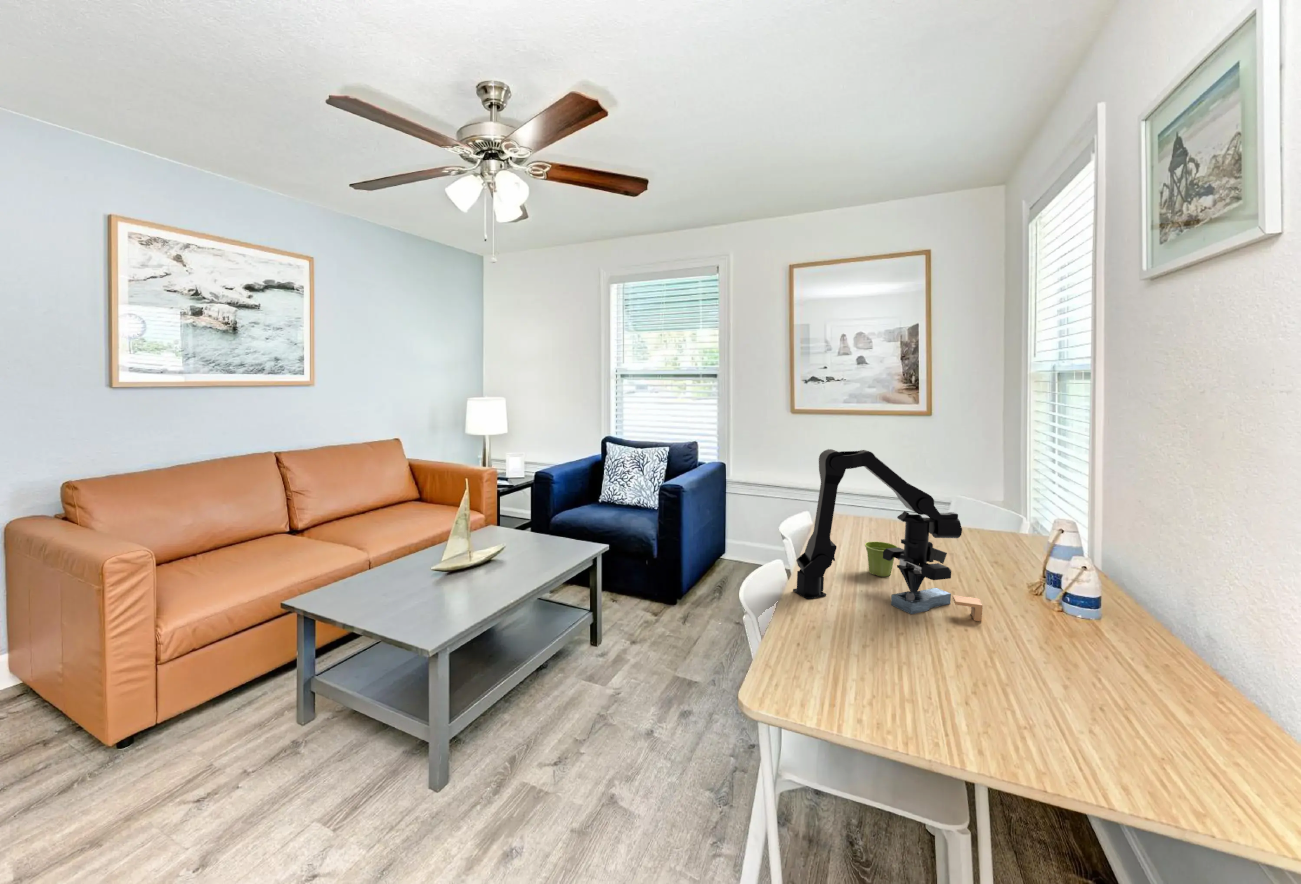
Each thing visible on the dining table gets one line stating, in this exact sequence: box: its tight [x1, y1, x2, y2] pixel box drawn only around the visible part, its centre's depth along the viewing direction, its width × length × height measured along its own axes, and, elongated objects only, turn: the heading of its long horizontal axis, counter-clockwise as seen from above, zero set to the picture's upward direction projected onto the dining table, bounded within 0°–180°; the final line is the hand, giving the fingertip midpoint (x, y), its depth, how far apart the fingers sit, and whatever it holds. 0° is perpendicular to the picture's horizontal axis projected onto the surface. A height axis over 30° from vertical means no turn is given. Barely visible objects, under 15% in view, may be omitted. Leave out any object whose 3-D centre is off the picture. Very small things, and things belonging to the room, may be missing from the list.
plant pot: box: [864, 541, 898, 578], centre depth 159 cm, size 9×9×9 cm
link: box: [890, 587, 952, 615], centre depth 135 cm, size 15×6×3 cm, turn 113°
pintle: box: [906, 592, 915, 601], centre depth 134 cm, size 2×2×4 cm
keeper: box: [952, 594, 984, 622], centre depth 129 cm, size 6×4×4 cm
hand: (913, 593), depth 141 cm, fingers closed
